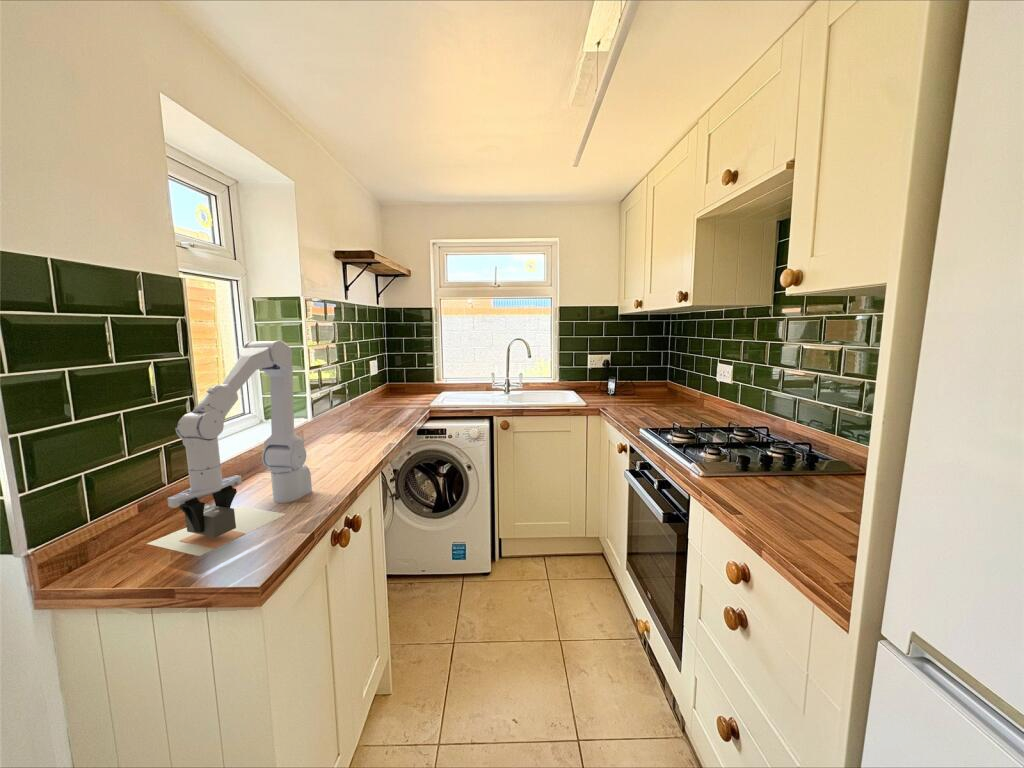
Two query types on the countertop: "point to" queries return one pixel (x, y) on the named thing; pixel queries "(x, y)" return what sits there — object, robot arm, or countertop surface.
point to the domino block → (215, 521)
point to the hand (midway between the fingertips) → (211, 526)
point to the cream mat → (202, 544)
